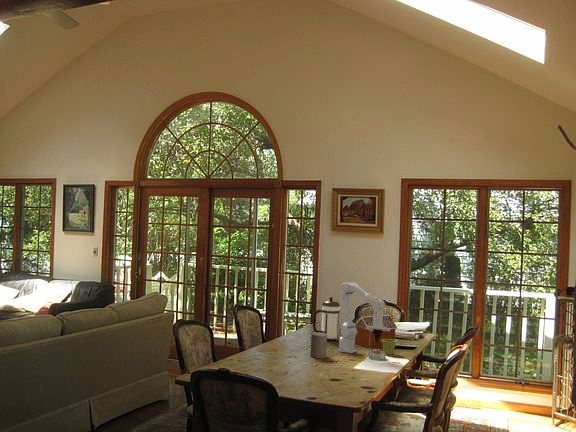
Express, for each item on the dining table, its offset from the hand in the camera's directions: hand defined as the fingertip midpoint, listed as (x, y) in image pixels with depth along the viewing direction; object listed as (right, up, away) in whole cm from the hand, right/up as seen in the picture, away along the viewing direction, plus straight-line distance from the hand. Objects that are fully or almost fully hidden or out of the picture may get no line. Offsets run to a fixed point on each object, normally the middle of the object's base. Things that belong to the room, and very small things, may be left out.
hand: (377, 342), depth 368 cm
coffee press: (-27, -10, +53) cm, 60 cm away
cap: (0, -9, 0) cm, 9 cm away
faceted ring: (0, -10, 0) cm, 10 cm away
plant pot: (+9, -11, +13) cm, 19 cm away
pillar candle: (-36, -9, -1) cm, 37 cm away
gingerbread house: (+5, -11, +43) cm, 45 cm away
